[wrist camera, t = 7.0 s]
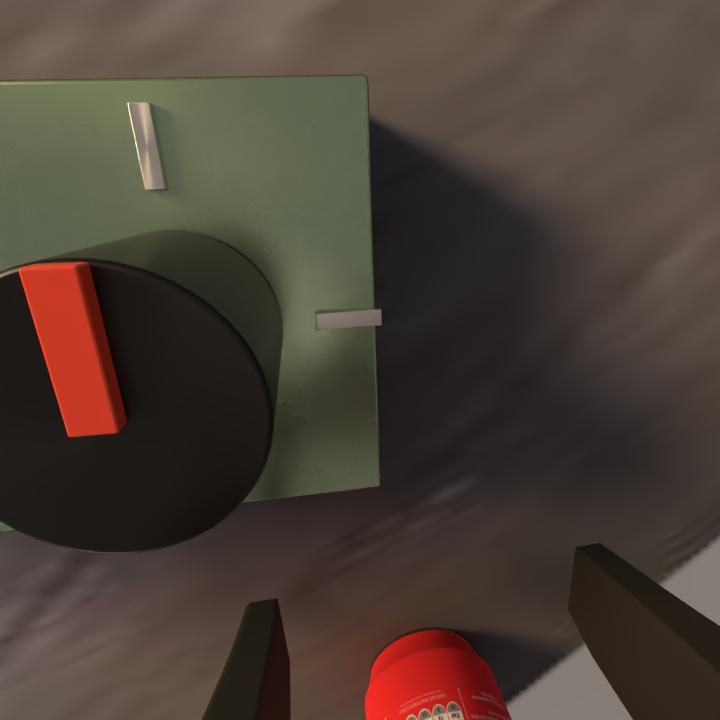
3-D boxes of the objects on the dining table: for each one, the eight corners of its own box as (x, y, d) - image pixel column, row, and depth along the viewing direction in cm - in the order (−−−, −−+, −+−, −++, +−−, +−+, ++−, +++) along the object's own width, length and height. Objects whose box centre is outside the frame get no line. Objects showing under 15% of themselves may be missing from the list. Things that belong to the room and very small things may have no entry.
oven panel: (25, 464, 13) (-56, 544, 10) (-105, 115, 10) (-282, 80, 7) (367, 428, 14) (386, 491, 11) (354, 104, 11) (375, 70, 8)
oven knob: (290, 409, 10) (285, 554, 6) (104, 425, 9) (-36, 592, 6) (274, 226, 9) (252, 254, 5) (53, 233, 8) (-186, 271, 4)
